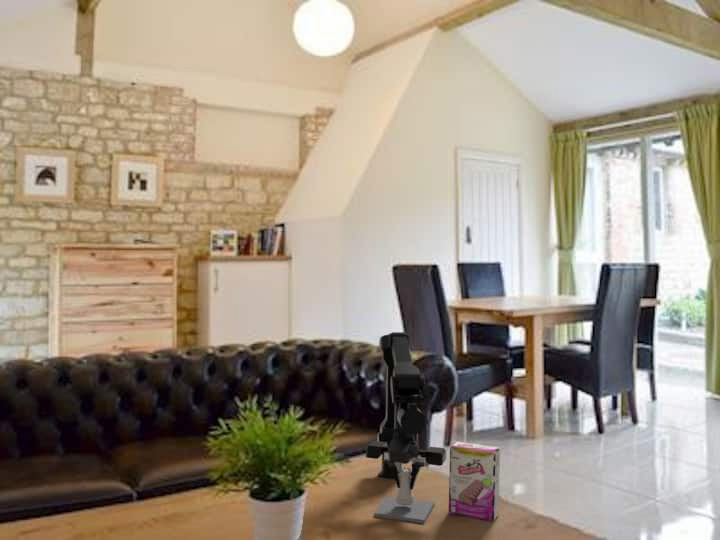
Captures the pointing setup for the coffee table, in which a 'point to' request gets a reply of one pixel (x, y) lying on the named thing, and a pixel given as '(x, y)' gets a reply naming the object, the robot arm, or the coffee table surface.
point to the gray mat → (405, 510)
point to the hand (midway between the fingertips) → (405, 488)
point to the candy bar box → (474, 481)
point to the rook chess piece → (405, 488)
